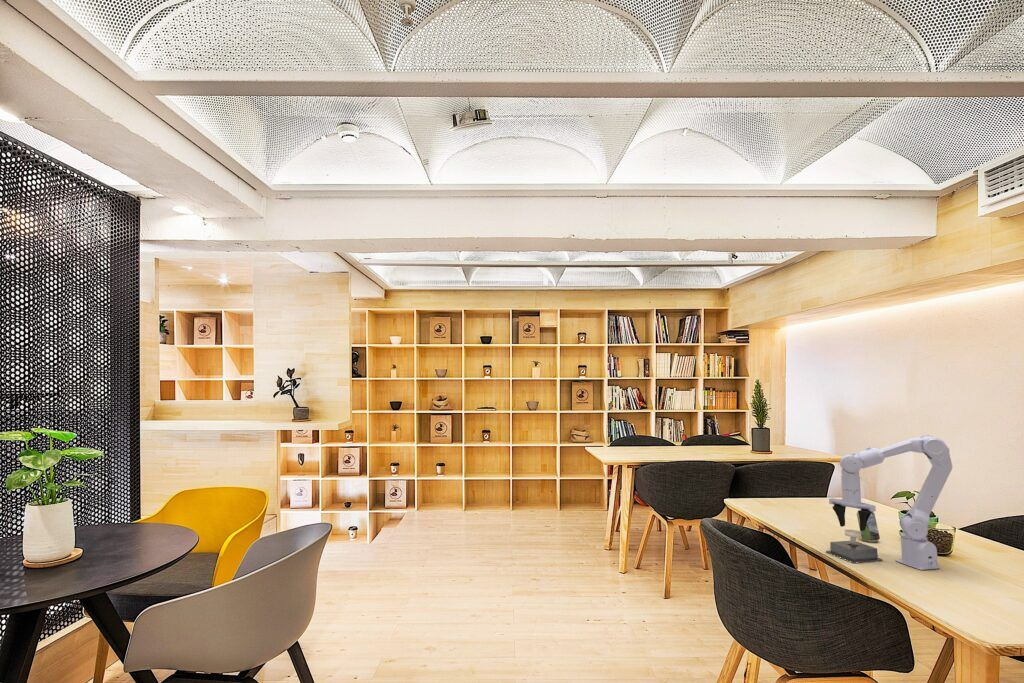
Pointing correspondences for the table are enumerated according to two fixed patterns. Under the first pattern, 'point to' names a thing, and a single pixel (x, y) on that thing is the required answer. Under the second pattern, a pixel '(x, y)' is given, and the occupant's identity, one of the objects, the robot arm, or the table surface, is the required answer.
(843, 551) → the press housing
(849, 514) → the table surface
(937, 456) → the robot arm
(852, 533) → the plunger
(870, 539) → the beverage can
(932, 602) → the table surface
